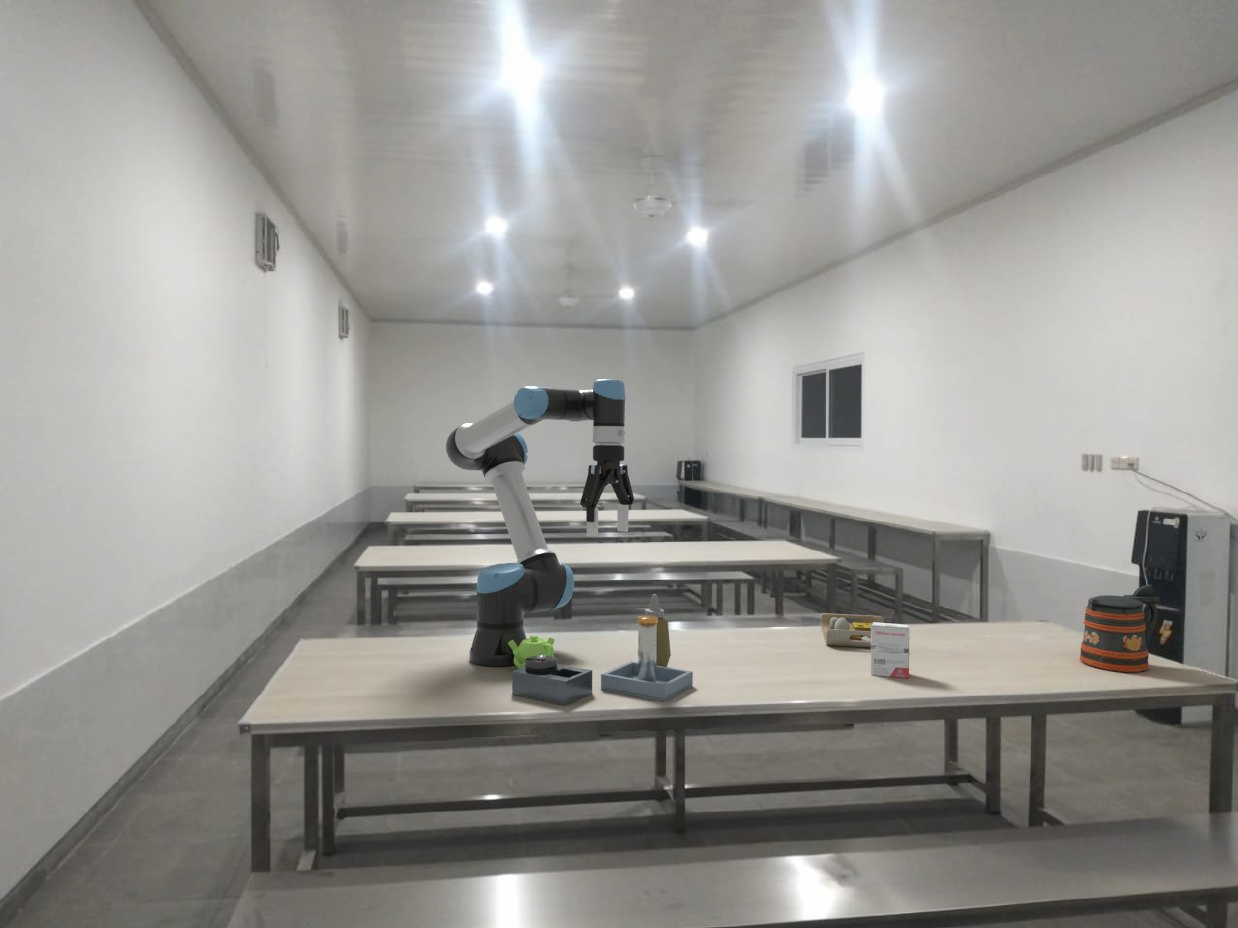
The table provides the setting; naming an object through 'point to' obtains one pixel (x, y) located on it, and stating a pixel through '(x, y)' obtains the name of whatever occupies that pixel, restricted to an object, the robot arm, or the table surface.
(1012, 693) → the table surface
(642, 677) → the glass jar with lid
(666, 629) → the squeeze bottle
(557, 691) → the grey boxy piece
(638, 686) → the parts tray
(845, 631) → the toy food set
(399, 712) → the table surface
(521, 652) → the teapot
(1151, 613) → the beer stein
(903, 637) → the ink box
